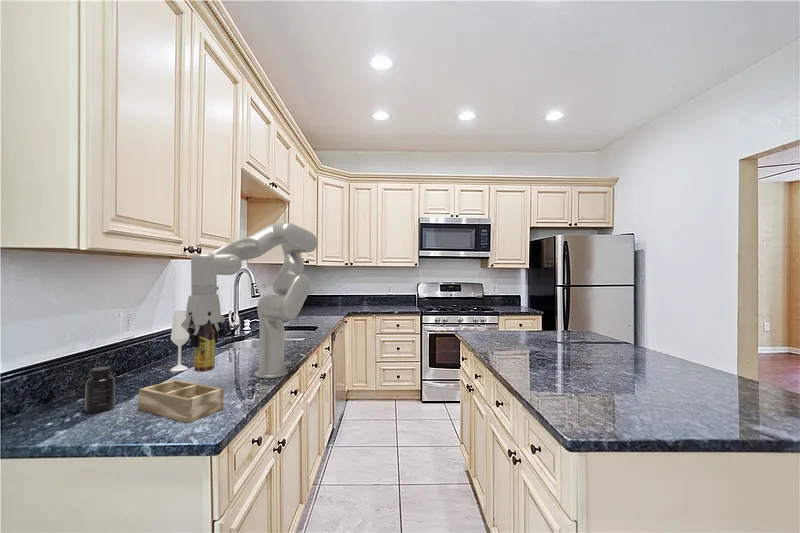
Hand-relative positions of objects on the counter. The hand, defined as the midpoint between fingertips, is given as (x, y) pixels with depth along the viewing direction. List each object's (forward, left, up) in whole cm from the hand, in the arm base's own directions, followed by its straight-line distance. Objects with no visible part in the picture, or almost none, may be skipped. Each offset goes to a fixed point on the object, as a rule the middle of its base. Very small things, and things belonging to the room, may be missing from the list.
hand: (204, 344), depth 127 cm
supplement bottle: (+23, -14, -17) cm, 32 cm away
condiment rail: (+13, +7, -17) cm, 22 cm away
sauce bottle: (0, 0, -9) cm, 9 cm away
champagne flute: (-18, -38, -17) cm, 45 cm away
